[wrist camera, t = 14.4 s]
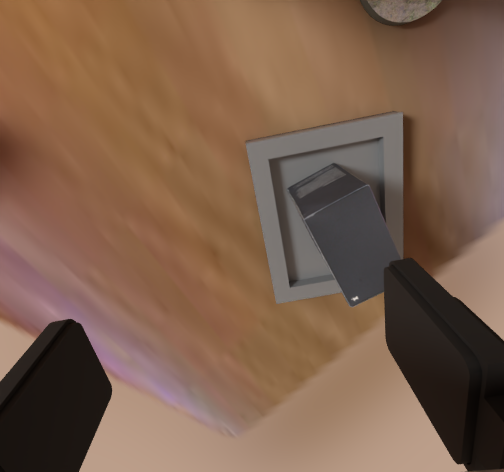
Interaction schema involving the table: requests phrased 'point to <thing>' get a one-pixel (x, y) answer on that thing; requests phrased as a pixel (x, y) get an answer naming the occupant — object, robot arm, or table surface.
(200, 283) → the table surface
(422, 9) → the figurine
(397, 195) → the tray
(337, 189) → the small box
